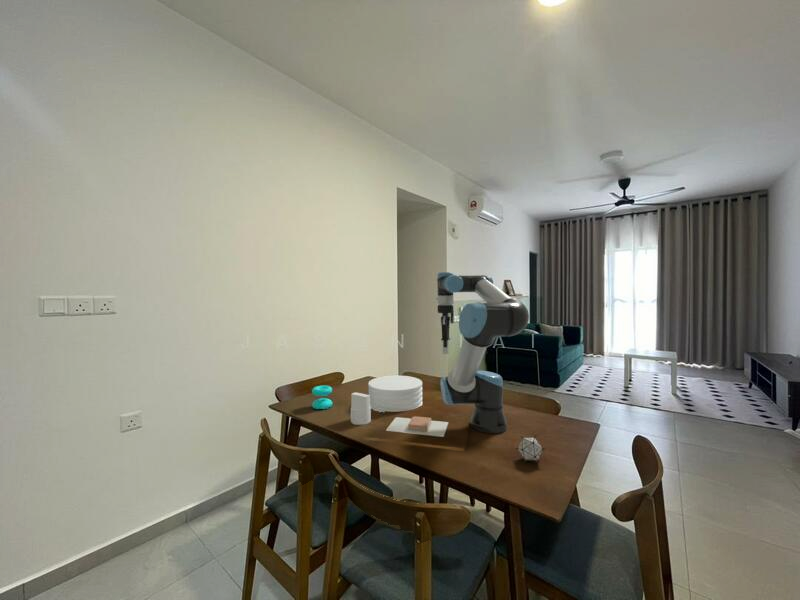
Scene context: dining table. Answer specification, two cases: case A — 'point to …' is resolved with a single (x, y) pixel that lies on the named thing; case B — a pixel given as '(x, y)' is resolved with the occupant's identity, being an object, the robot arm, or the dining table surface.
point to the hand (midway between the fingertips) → (445, 353)
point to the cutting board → (402, 426)
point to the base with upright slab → (360, 408)
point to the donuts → (322, 402)
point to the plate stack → (395, 393)
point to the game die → (530, 449)
